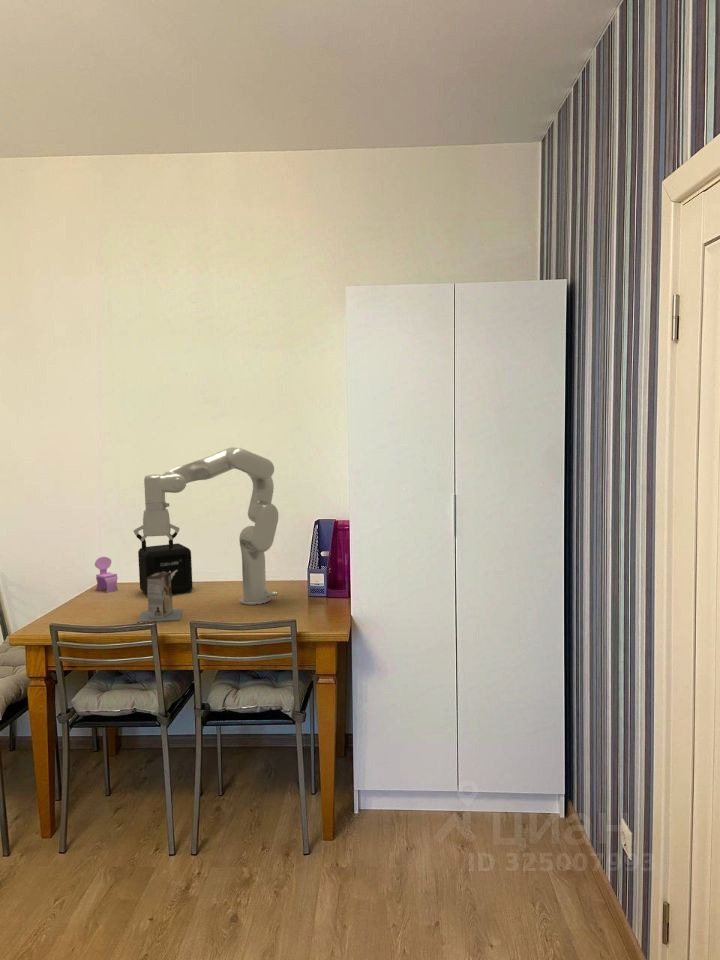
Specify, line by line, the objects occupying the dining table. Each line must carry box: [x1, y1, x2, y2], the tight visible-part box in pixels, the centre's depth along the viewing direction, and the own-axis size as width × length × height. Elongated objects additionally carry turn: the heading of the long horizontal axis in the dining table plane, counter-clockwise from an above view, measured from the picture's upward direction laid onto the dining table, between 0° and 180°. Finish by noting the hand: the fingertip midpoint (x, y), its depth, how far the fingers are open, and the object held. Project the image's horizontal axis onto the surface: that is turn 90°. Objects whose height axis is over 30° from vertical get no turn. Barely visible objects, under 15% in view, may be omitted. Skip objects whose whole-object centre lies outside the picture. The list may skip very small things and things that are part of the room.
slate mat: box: [136, 608, 184, 624], centre depth 310 cm, size 16×16×1 cm
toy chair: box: [94, 556, 119, 594], centre depth 354 cm, size 8×9×15 cm
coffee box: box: [146, 572, 174, 618], centre depth 309 cm, size 9×6×16 cm
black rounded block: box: [137, 542, 193, 596], centre depth 348 cm, size 20×15×20 cm
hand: (157, 550), depth 308 cm, fingers open, 9 cm apart
